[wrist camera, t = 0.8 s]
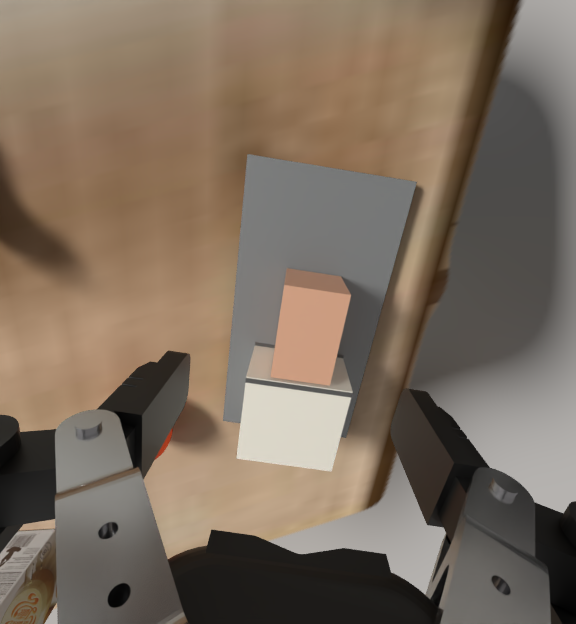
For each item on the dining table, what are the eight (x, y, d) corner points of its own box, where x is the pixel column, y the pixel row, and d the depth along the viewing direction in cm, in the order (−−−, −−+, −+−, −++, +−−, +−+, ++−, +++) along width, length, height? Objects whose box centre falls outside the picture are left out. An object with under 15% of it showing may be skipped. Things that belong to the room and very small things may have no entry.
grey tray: (249, 156, 26) (233, 142, 19) (411, 182, 26) (450, 178, 20) (225, 413, 36) (208, 463, 29) (344, 430, 36) (355, 483, 29)
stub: (286, 268, 28) (284, 284, 23) (341, 276, 28) (351, 295, 23) (274, 346, 31) (270, 377, 25) (324, 353, 31) (329, 385, 26)
